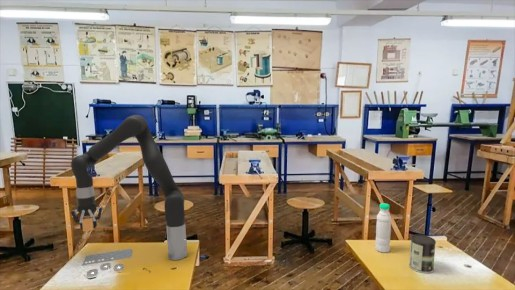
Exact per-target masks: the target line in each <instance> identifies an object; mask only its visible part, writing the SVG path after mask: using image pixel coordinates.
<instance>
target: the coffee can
mask: <svg viewBox="0 0 515 290" xmlns="http://www.w3.org/2000/svg"><path fill="white" fill-rule="evenodd" d="M436 243H437V241H436V240H435V238H433V237H431V236H428V235H424V234H412V235H411V236H410V248H409V263H408V266H409V268H410V269H412V270H413V271H414V272H418V273H421V274H431V273H433V272H434V271H435V270H434V267H435V266H434V265H435V252H436Z"/></svg>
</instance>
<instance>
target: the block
mask: <svg viewBox="0 0 515 290" xmlns="http://www.w3.org/2000/svg"><path fill="white" fill-rule="evenodd" d="M82 226H83V230H82V232H90V231H94V229H95V228H94V227H93V218H91V216H88V215H87V216H84V218H83V219H82Z"/></svg>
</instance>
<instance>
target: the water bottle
mask: <svg viewBox="0 0 515 290" xmlns="http://www.w3.org/2000/svg"><path fill="white" fill-rule="evenodd" d="M390 207H391V206H390V204H389V203H385V202H383V203H380V204H379V211H378V213H377V214H376V226H375V234H376V235H375V245H374V247H375V250H376V251H377V252H379V253H383V254H385V253H386V254H387V253H389V252H390V250H391V245H390V244H391V234H392V233H391V232H392V224H391V223H392V216H391V213H390V212H389V211H390Z"/></svg>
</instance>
